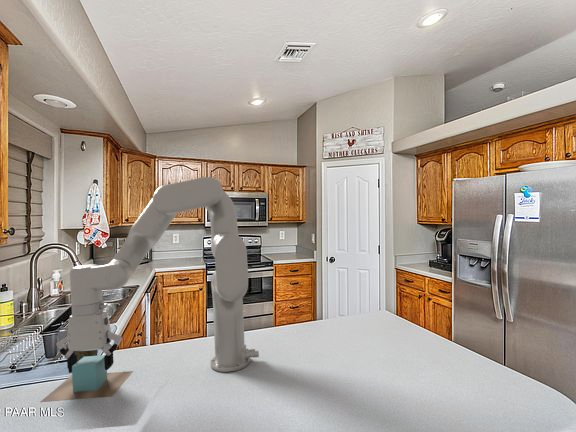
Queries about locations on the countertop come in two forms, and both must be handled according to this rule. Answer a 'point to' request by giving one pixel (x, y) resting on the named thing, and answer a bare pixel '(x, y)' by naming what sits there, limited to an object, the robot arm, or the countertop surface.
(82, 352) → the olive patterned hollow container
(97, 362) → the aqua foam cube
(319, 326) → the countertop surface
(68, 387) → the walnut board
